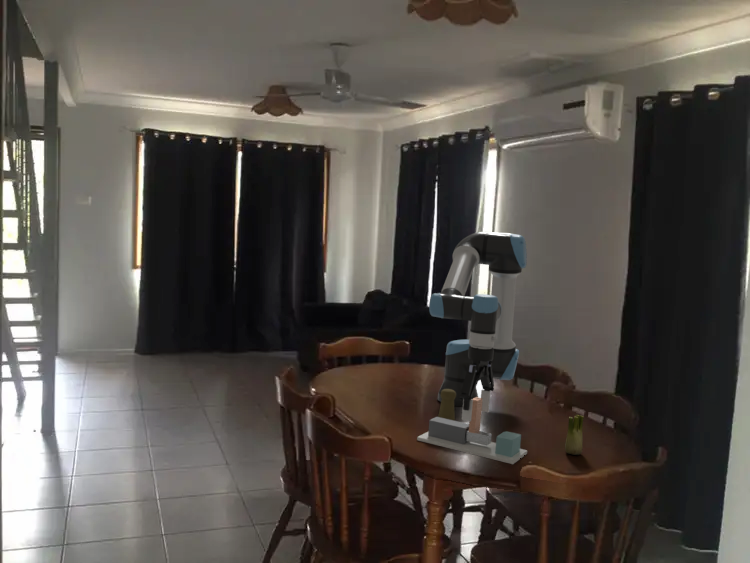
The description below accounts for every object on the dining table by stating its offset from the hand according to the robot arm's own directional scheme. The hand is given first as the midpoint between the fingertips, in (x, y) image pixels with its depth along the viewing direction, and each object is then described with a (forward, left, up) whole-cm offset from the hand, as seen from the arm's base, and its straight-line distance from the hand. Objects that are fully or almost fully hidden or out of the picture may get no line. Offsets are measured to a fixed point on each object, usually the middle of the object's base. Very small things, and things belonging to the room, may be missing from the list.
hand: (475, 415), depth 217 cm
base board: (-1, 0, -10) cm, 10 cm away
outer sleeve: (-8, 0, -10) cm, 13 cm away
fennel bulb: (+26, +16, -10) cm, 32 cm away
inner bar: (-3, 0, -8) cm, 8 cm away
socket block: (+11, 0, -10) cm, 15 cm away
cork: (-18, +19, -10) cm, 28 cm away
